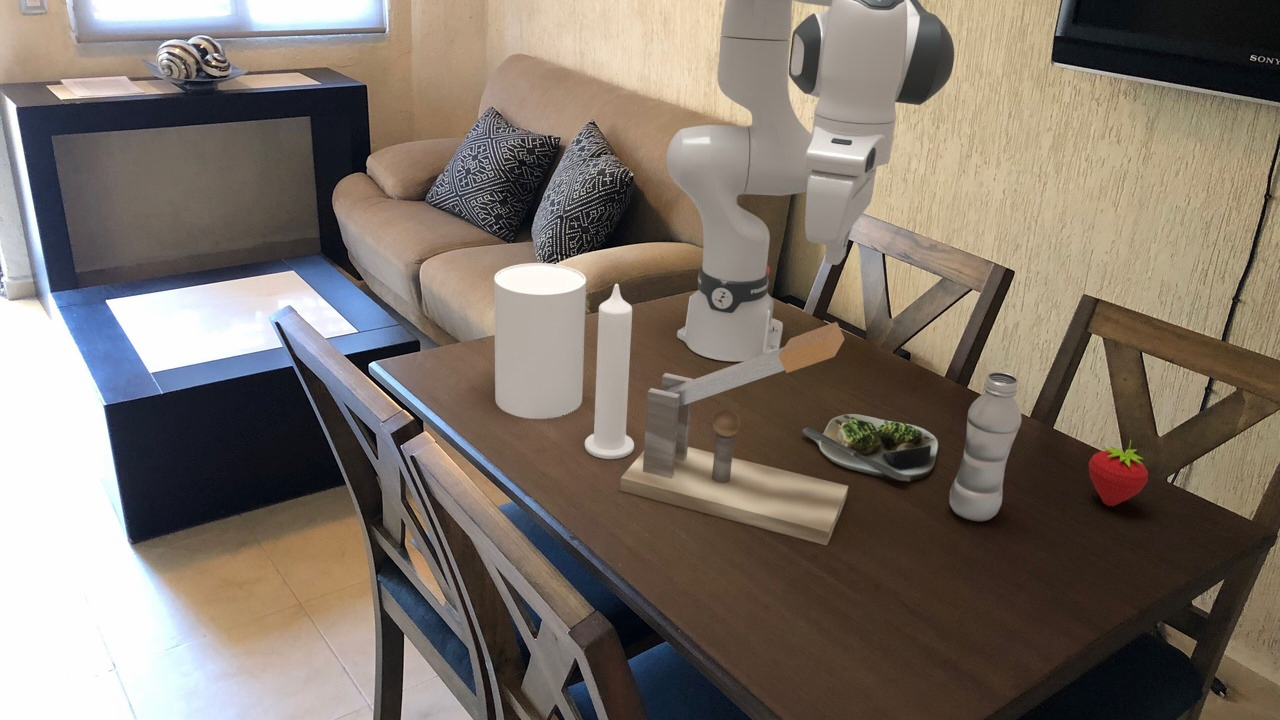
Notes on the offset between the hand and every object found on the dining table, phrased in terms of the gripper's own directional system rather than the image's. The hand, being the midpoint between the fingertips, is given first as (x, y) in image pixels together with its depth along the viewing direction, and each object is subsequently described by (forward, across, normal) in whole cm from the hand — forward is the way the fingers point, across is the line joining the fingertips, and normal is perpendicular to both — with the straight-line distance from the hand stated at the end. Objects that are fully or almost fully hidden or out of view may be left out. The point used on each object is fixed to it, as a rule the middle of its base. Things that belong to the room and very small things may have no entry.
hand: (834, 260), depth 117 cm
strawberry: (+35, -21, +38) cm, 56 cm away
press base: (+35, 0, -9) cm, 36 cm away
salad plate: (+35, -21, +7) cm, 42 cm away
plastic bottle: (+35, -10, +21) cm, 42 cm away
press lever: (+18, 0, -9) cm, 20 cm away
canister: (+35, -13, -45) cm, 58 cm away
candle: (+35, -4, -29) cm, 46 cm away
